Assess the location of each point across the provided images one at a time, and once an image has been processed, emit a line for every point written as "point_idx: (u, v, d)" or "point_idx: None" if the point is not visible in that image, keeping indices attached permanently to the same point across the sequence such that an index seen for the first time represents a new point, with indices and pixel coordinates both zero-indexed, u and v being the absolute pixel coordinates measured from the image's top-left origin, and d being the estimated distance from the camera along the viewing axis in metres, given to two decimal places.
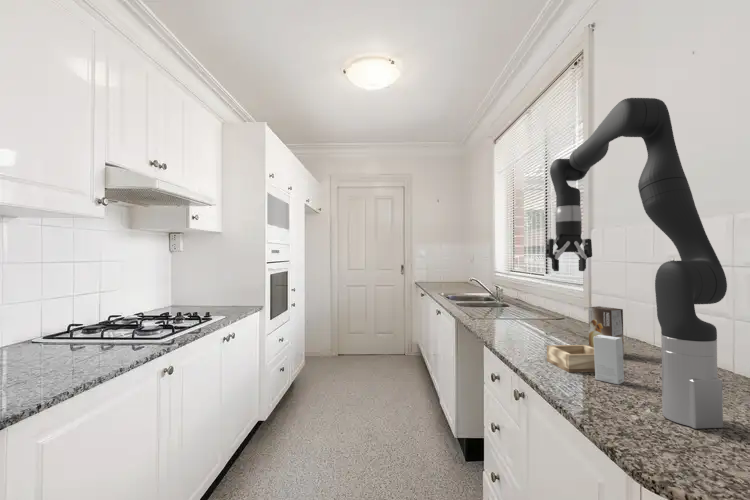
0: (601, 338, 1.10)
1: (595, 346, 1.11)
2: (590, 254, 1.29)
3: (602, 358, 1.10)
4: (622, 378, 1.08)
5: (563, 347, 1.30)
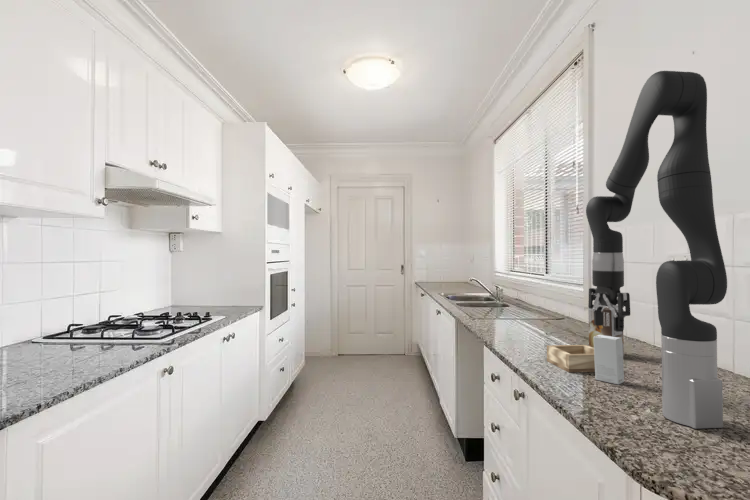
0: (601, 338, 1.10)
1: (595, 346, 1.11)
2: None
3: (602, 358, 1.10)
4: (622, 378, 1.08)
5: (563, 347, 1.30)
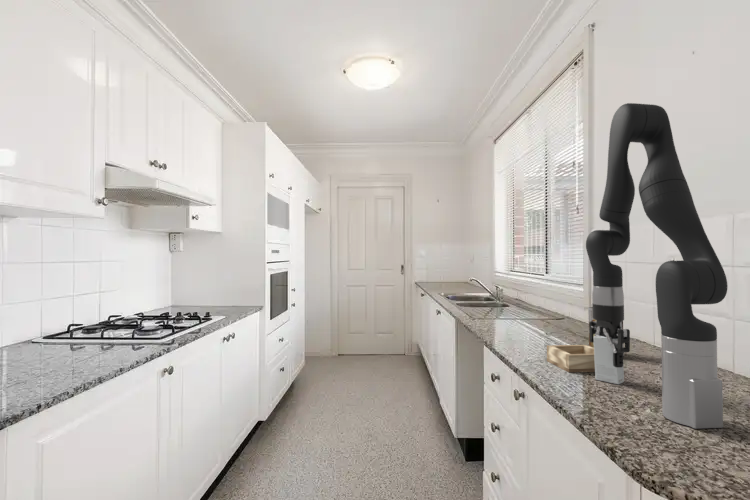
0: (601, 338, 1.10)
1: (595, 346, 1.11)
2: None
3: (602, 358, 1.10)
4: (622, 378, 1.08)
5: (563, 347, 1.30)
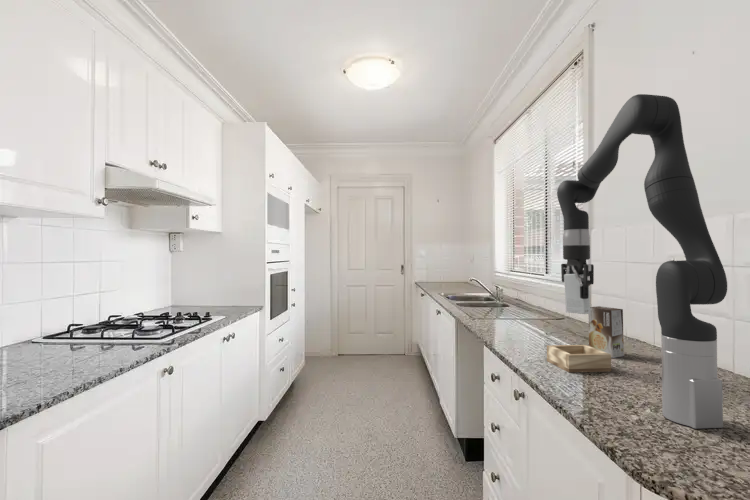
0: (570, 275, 1.25)
1: (565, 282, 1.26)
2: None
3: (571, 293, 1.25)
4: (588, 309, 1.24)
5: (563, 347, 1.30)
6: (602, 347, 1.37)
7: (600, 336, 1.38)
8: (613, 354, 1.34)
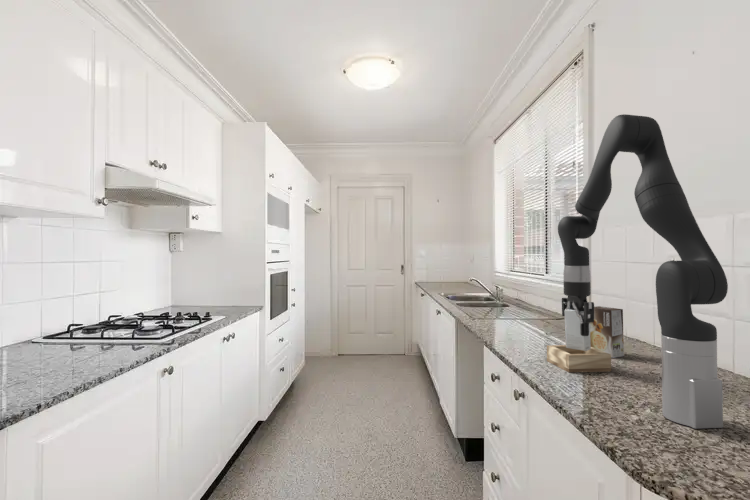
0: (571, 311, 1.25)
1: (566, 318, 1.26)
2: None
3: (572, 329, 1.25)
4: (589, 346, 1.23)
5: (563, 347, 1.30)
6: (602, 347, 1.37)
7: (600, 336, 1.38)
8: (613, 354, 1.34)
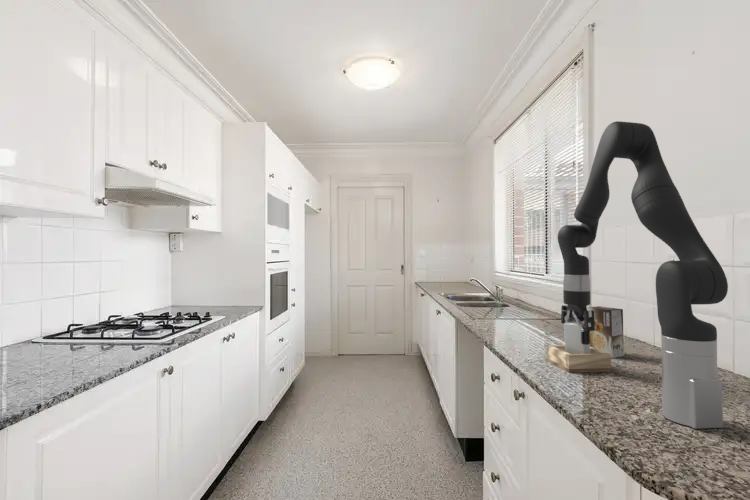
0: (570, 325, 1.25)
1: (565, 332, 1.26)
2: None
3: (571, 342, 1.25)
4: None
5: (563, 347, 1.30)
6: (602, 347, 1.37)
7: (600, 336, 1.38)
8: (613, 354, 1.34)
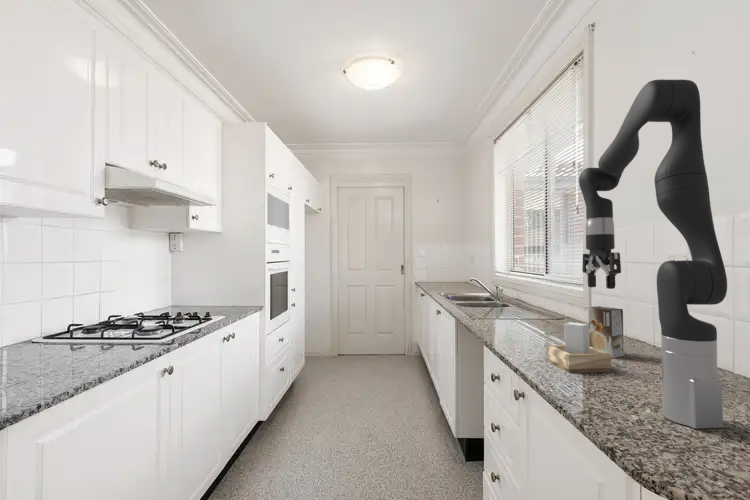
0: (570, 325, 1.25)
1: (565, 332, 1.26)
2: None
3: (571, 342, 1.25)
4: None
5: (563, 347, 1.30)
6: (602, 347, 1.37)
7: (600, 336, 1.38)
8: (613, 354, 1.34)
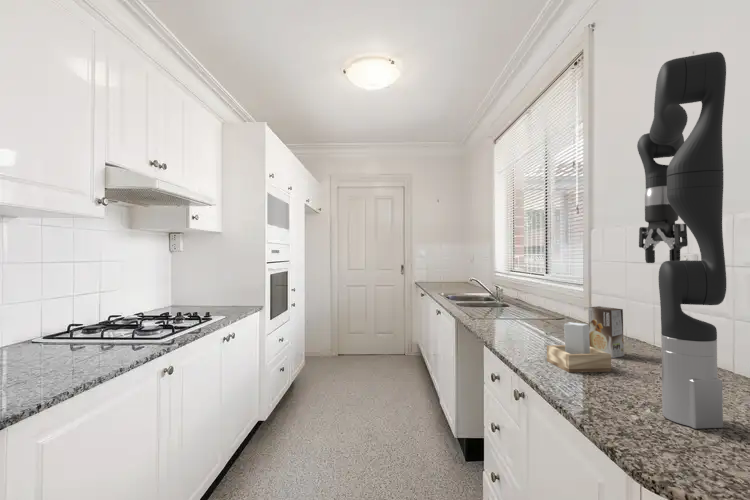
0: (570, 325, 1.25)
1: (565, 332, 1.26)
2: None
3: (571, 342, 1.25)
4: None
5: (563, 347, 1.30)
6: (602, 347, 1.37)
7: (600, 336, 1.38)
8: (613, 354, 1.34)
